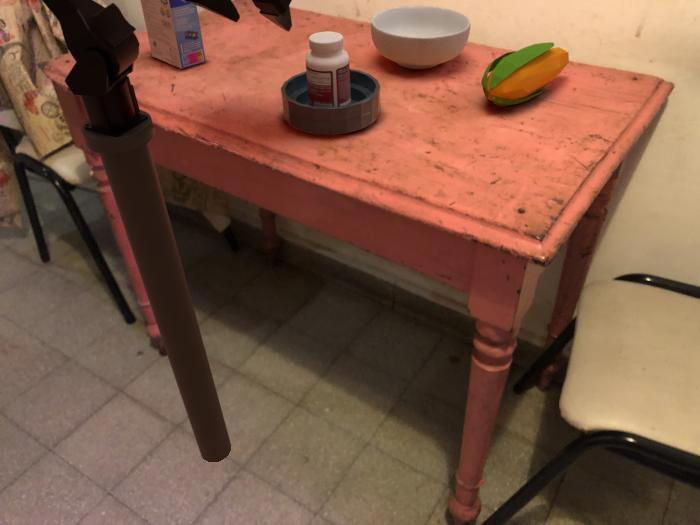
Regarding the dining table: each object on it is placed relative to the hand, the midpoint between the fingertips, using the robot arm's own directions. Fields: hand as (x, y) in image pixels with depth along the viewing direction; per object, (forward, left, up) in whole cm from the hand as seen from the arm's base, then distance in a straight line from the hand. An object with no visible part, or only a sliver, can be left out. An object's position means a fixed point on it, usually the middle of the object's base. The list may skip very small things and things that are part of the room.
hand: (263, 23), depth 82 cm
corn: (+20, -33, -13) cm, 41 cm away
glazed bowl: (+1, -9, -13) cm, 16 cm away
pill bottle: (+1, -9, -12) cm, 15 cm away
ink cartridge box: (+10, +27, -13) cm, 31 cm away
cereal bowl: (+26, -13, -13) cm, 32 cm away
